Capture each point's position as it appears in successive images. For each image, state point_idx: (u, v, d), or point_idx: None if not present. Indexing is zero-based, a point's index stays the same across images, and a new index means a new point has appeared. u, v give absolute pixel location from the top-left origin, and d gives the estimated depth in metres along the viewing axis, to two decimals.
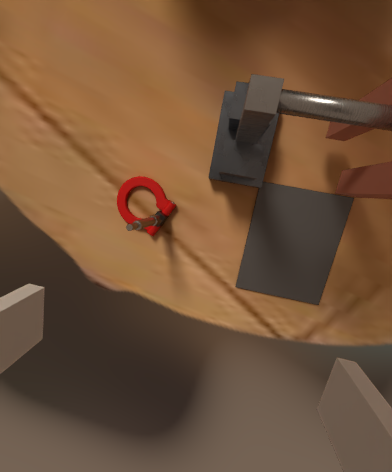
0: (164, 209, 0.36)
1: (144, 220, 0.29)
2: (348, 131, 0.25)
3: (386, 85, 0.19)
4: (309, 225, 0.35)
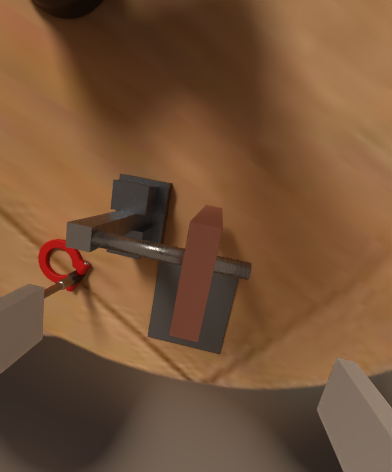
0: (78, 269, 0.40)
1: None
2: None
3: None
4: None
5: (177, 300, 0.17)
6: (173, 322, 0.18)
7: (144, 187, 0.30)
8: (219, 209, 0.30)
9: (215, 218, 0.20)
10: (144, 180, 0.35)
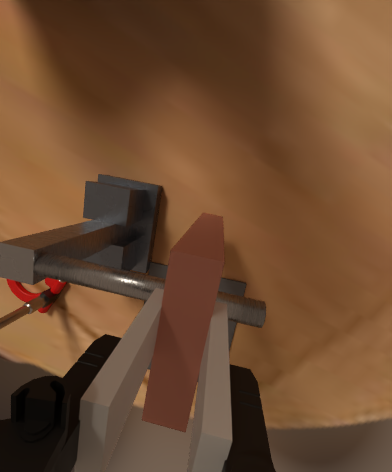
0: (52, 287, 0.34)
1: None
2: None
3: None
4: None
5: (153, 370, 0.11)
6: (147, 402, 0.12)
7: (124, 191, 0.24)
8: (219, 218, 0.24)
9: (213, 237, 0.14)
10: (128, 182, 0.28)
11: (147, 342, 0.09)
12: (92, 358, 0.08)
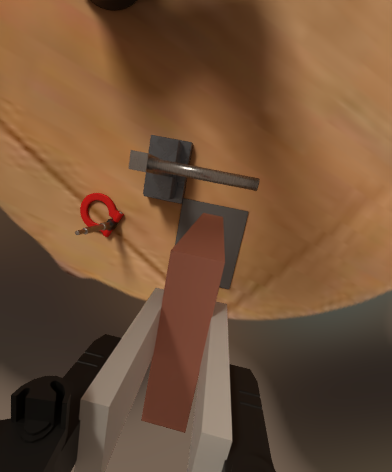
0: (114, 217, 0.49)
1: (91, 227, 0.42)
2: None
3: None
4: None
5: (152, 370, 0.11)
6: (147, 402, 0.12)
7: (175, 140, 0.39)
8: (219, 219, 0.24)
9: (213, 237, 0.14)
10: None
11: (147, 342, 0.09)
12: (92, 358, 0.08)
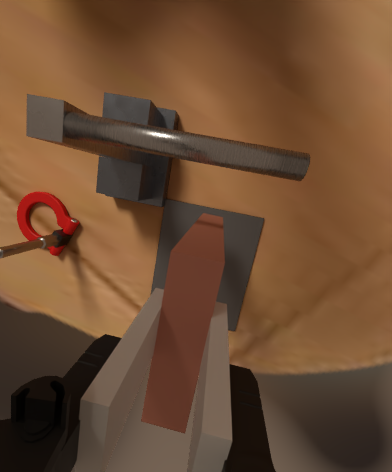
0: (65, 228, 0.33)
1: (14, 246, 0.26)
2: None
3: None
4: None
5: (152, 371, 0.11)
6: (147, 403, 0.12)
7: (144, 101, 0.23)
8: (219, 219, 0.24)
9: (213, 237, 0.14)
10: None
11: (147, 342, 0.09)
12: (92, 358, 0.08)
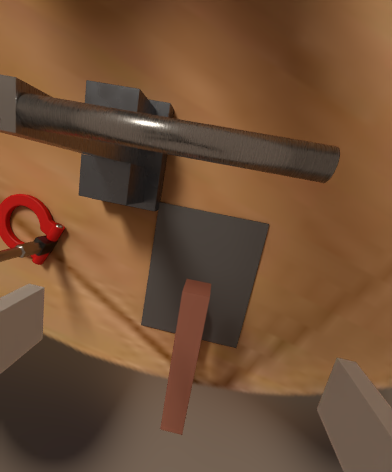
0: (48, 234, 0.30)
1: None
2: None
3: (169, 377, 0.22)
4: (220, 255, 0.29)
5: None
6: None
7: (132, 90, 0.20)
8: (200, 322, 0.20)
9: (182, 402, 0.23)
10: None
11: None
12: None
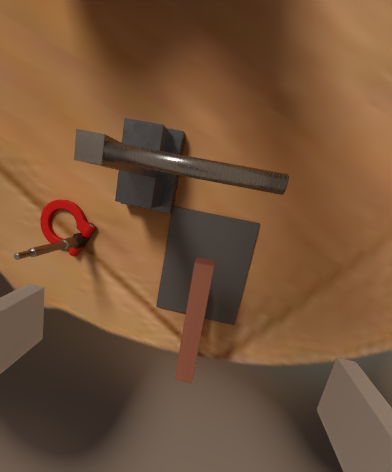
0: (83, 231, 0.38)
1: (44, 246, 0.30)
2: None
3: (182, 333, 0.30)
4: (221, 249, 0.36)
5: None
6: None
7: (158, 126, 0.27)
8: (207, 285, 0.27)
9: (192, 353, 0.29)
10: None
11: None
12: None
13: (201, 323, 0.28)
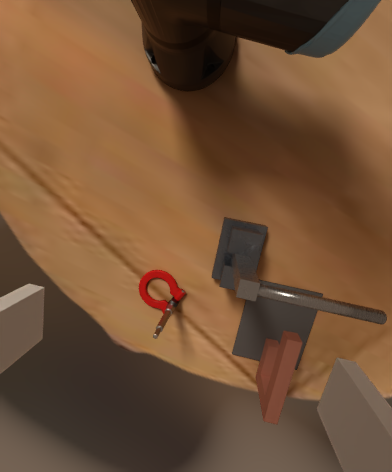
0: (176, 296, 0.46)
1: (164, 321, 0.39)
2: None
3: (272, 387, 0.39)
4: (289, 312, 0.45)
5: (258, 390, 0.46)
6: (257, 382, 0.48)
7: (259, 235, 0.36)
8: (296, 356, 0.36)
9: (279, 403, 0.39)
10: (245, 224, 0.41)
11: None
12: None
13: (288, 382, 0.38)
